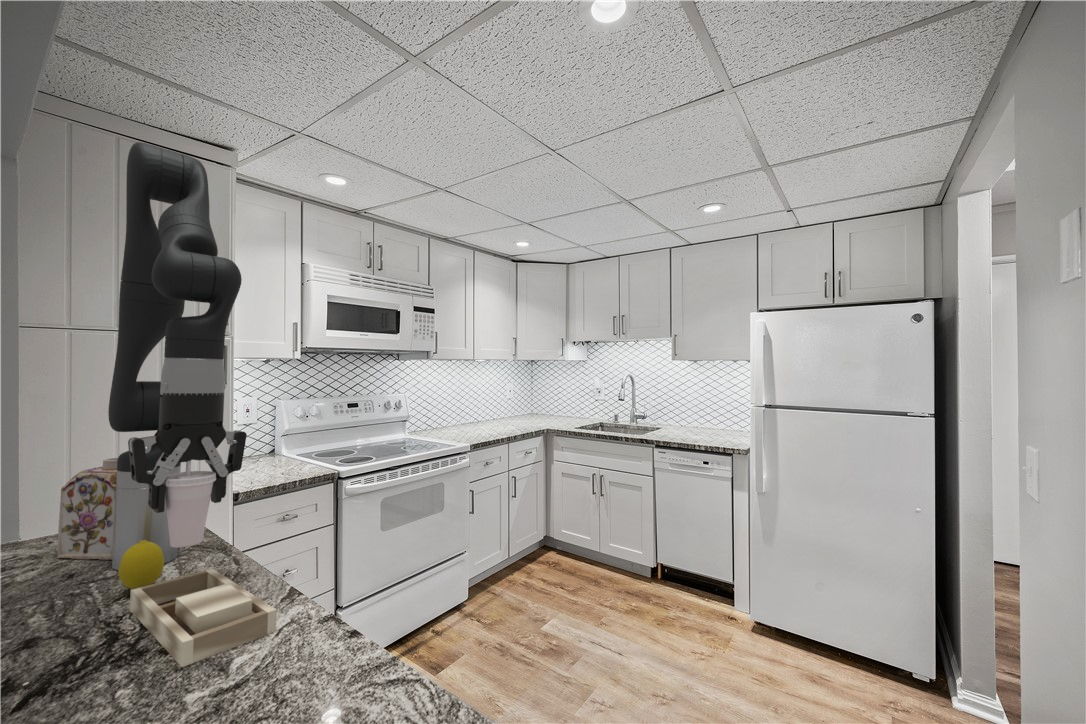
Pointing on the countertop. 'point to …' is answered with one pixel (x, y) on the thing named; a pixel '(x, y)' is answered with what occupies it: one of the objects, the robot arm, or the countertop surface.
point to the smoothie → (188, 505)
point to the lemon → (141, 565)
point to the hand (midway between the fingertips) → (188, 506)
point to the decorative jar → (88, 513)
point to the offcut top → (212, 607)
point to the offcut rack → (206, 642)
